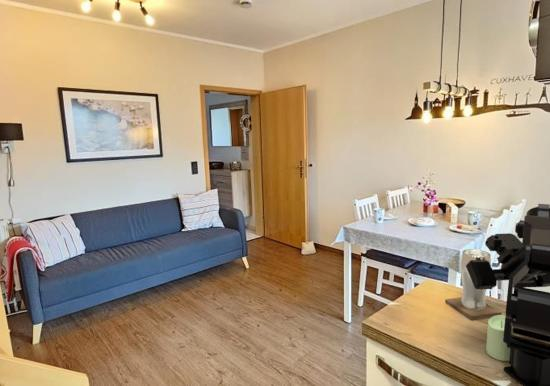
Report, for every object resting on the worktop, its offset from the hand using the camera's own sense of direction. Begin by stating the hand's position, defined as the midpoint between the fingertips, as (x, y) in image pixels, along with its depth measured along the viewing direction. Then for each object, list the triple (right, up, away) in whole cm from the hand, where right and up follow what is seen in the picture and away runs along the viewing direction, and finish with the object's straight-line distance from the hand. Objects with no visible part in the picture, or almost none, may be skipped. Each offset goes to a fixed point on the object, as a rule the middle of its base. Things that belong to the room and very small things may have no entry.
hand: (493, 286), depth 84 cm
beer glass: (0, -8, +9) cm, 12 cm away
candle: (-5, -12, -10) cm, 16 cm away
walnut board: (0, -9, +10) cm, 13 cm away
